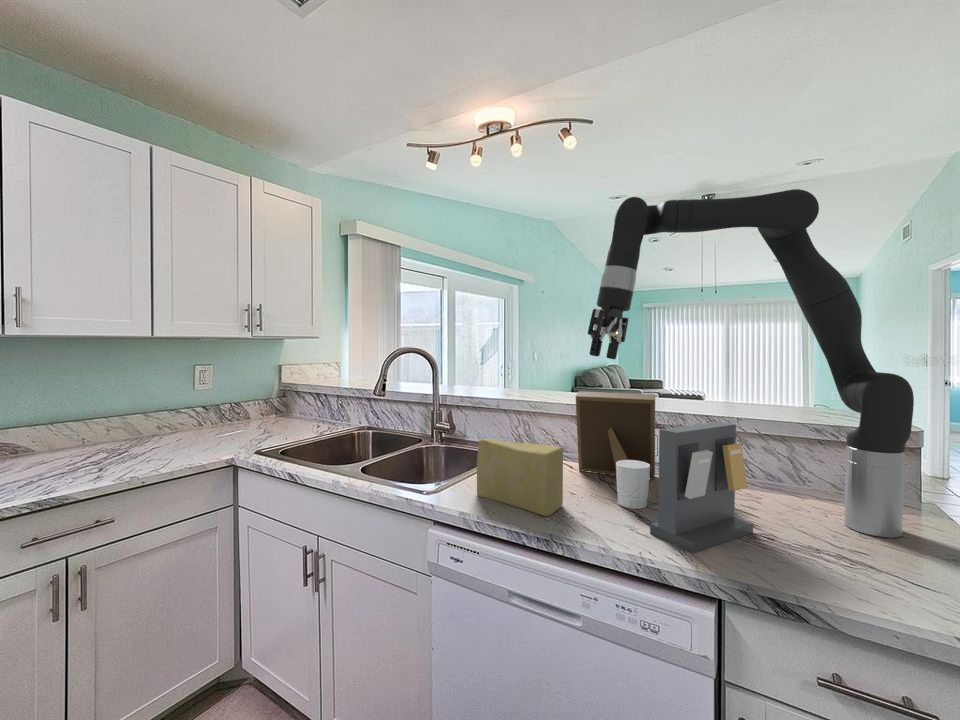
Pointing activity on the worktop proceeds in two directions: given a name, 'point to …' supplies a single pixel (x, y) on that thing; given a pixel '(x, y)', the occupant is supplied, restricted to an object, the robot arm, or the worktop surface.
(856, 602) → the worktop surface
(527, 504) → the cheese
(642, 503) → the white cup
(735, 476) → the amber rocker
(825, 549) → the worktop surface
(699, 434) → the power panel
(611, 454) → the photo frame
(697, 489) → the grey rocker
